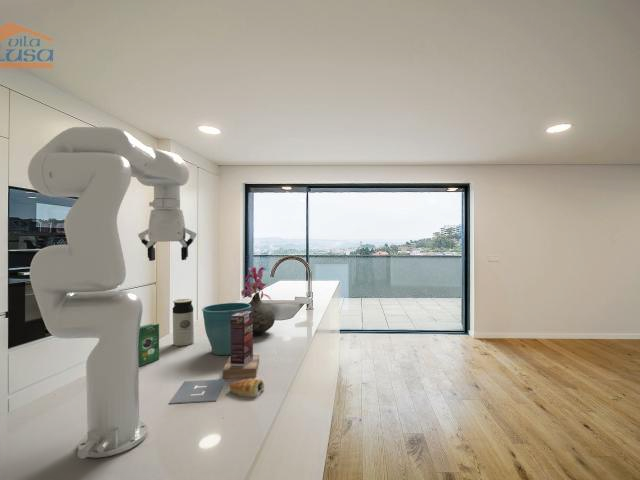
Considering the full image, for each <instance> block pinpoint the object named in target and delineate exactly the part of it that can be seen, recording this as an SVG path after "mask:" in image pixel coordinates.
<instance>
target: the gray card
mask: <svg viewBox="0 0 640 480" xmlns="http://www.w3.org/2000/svg"><path fill="white" fill-rule="evenodd" d="M225 382H226V378H222V379H221V378H220V379H205V380H204V379H203V380H187V381H183V382H182V384H181V386H180V387H179V388H178V390H177V391H176V392H175V394H174V395H173V396H172V398H171V399H170V401H169V402H168V404H169V405H174V404H191V403H192V404H193V403H207V402H208V403H209V402H217V401H218V398H219V397H220V396H219V395H220V393H221V391H222V389H223V387H224V384H225Z"/></svg>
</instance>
